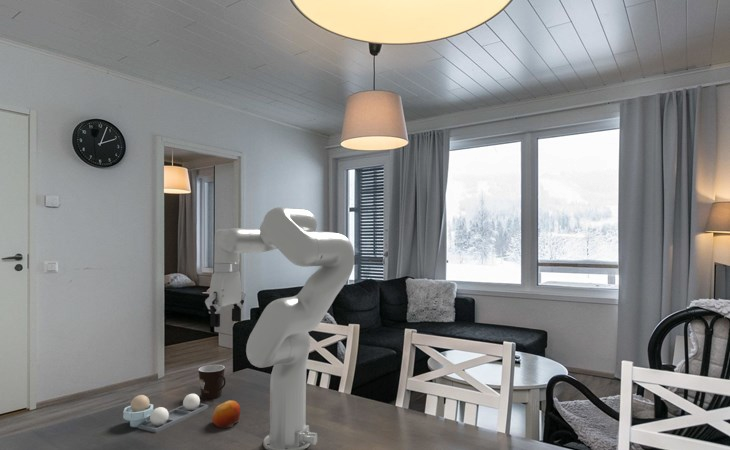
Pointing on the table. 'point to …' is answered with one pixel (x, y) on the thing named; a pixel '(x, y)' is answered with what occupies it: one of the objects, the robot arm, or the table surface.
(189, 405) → the white egg
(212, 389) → the coffee mug
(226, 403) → the fruit
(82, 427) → the table surface
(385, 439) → the table surface
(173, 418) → the egg tray
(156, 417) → the white egg
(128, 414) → the egg cup
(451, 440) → the table surface
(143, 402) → the egg brown
